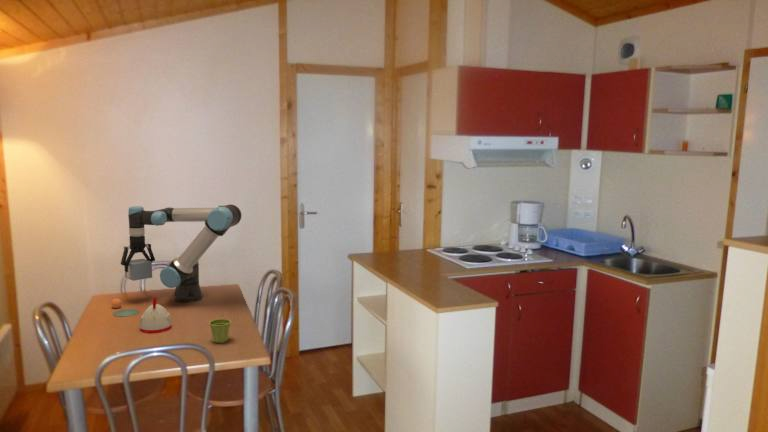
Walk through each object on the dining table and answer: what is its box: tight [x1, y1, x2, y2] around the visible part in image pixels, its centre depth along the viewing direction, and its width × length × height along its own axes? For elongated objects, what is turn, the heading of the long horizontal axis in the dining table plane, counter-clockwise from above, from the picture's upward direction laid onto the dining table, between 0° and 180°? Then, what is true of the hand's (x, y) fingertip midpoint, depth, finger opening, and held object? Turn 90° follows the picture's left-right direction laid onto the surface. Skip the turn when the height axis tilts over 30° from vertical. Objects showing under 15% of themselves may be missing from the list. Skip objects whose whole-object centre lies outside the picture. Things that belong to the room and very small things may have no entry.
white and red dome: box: [139, 297, 172, 334], centre depth 268 cm, size 14×14×15 cm
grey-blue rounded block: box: [124, 258, 153, 281], centre depth 307 cm, size 10×10×9 cm
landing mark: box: [112, 308, 140, 318], centre depth 291 cm, size 12×12×1 cm
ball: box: [110, 298, 123, 309], centre depth 299 cm, size 5×5×5 cm
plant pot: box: [208, 318, 232, 344], centre depth 254 cm, size 9×9×9 cm
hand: (138, 276), depth 308 cm, fingers closed on grey-blue rounded block, 10 cm apart
